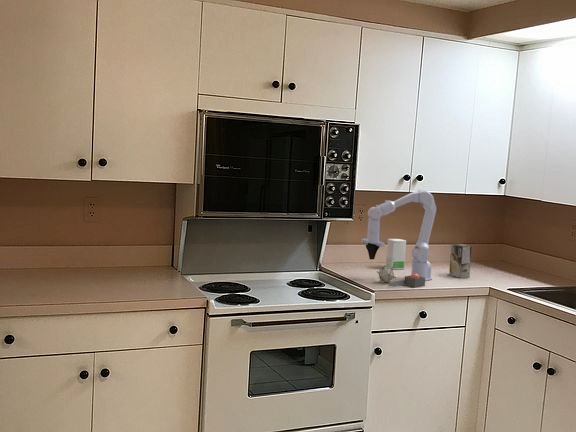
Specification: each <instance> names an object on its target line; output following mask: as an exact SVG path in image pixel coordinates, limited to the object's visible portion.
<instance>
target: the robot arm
mask: <svg viewBox="0 0 576 432" xmlns="http://www.w3.org/2000/svg"><path fill="white" fill-rule="evenodd" d="M408 203H419V204H420V205H421V206H422V208H423V209H424V215H423V218H422V223H421V225H420V230H419V234H418V235H419V236H418V238H417V241H416V243H415V245H414V248H413V249H412V250H411V255H412V257H413V258H412V260H411V261H412V262H411V274H410V276H411V275H412V274H413V273H417V274H418V275H419V276H421V277H424V278H425V281H431V280H432V277H431V275H432V264H431V262H429V261H428V259H429V257H430V255H429V249H430V246H429V241H430V237H431V233H432V229H433V226H434V222H435V218H436V213H437V205H436V202H435V197H434V195H433V194H432V193H431V191H430V192H429V191H428V190H424V189H418V190H417V191H412V192H409V194H406V195H404V196H402V197H400V198H398V199H396V200H394V201H392V200H388V199H386V200H384V202H382V203H381V204H376V205H375V206H372V207H369V208H368V211H367V212H366V213H367V216H368V222H367V235H366V238H361V239H360V240H361V241H360V242H361V243H362V244H363V243H364V244H365V248H366V250H367V254H368V257H369V258H368V259H369V260H375V258H376V254H377V252H378V250H379V249H380V248H385V247H386V246H385V245H386V244H385V243H386V242H383V241H380V228H381V227H380V226H381V223H380V222H381V220H380V219H381V218H382V217H385V216H387V215H388V214H390V213H394V212H395V210H396V209H397V208H398V207H401V206H403V205H407V204H408Z"/></svg>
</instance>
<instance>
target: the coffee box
mask: <svg viewBox="0 0 576 432" xmlns="http://www.w3.org/2000/svg"><path fill="white" fill-rule="evenodd" d="M449 256H450V257H449V258H450V259H449V270H448V271H449V272H448V273H449V276H452V277H453V276H454V277H456V278H459V279H463V278H466V279H467V278H470V276H471V260H472V246H471V245H468V244H464V243H463V244H462V243H451V244H450V255H449Z"/></svg>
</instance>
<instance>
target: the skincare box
mask: <svg viewBox="0 0 576 432" xmlns="http://www.w3.org/2000/svg"><path fill="white" fill-rule="evenodd" d="M406 250H407V240H405V239H402V238H387V246H386V261H385V267H388V268H392V267H393V269H392V270H405V266H406V265H405V264H406V263H405V262H406Z"/></svg>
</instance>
